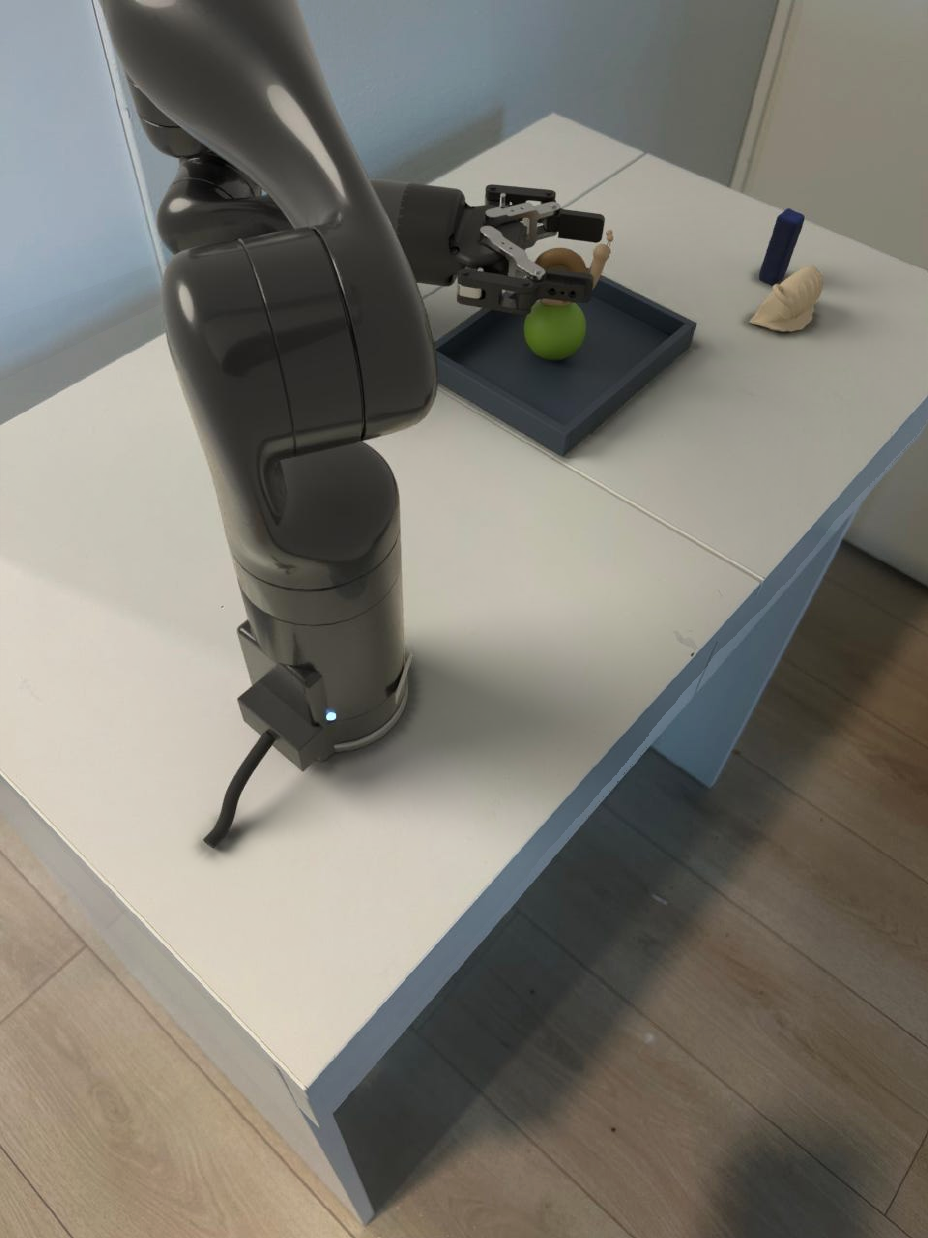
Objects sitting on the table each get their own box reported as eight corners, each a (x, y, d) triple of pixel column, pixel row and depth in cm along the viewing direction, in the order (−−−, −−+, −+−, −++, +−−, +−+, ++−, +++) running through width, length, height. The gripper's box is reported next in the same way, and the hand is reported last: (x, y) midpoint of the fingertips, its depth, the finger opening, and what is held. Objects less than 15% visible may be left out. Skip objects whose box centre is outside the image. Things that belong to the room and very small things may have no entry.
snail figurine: (594, 374, 83) (616, 252, 74) (522, 372, 83) (534, 249, 74) (590, 335, 87) (611, 213, 77) (520, 333, 86) (532, 210, 77)
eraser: (766, 268, 94) (787, 205, 89) (786, 278, 93) (808, 214, 88) (755, 278, 93) (775, 214, 88) (774, 288, 93) (796, 224, 87)
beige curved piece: (825, 313, 90) (845, 263, 86) (772, 349, 87) (790, 299, 83) (790, 293, 92) (808, 243, 88) (737, 327, 89) (753, 277, 84)
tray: (562, 457, 78) (566, 435, 76) (422, 372, 84) (422, 349, 82) (691, 345, 87) (697, 322, 85) (556, 275, 93) (559, 252, 91)
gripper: (380, 238, 71) (595, 267, 69) (420, 143, 79) (613, 167, 78) (384, 322, 77) (582, 350, 75) (421, 226, 85) (600, 250, 84)
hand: (598, 257), depth 76 cm, fingers open, 8 cm apart
